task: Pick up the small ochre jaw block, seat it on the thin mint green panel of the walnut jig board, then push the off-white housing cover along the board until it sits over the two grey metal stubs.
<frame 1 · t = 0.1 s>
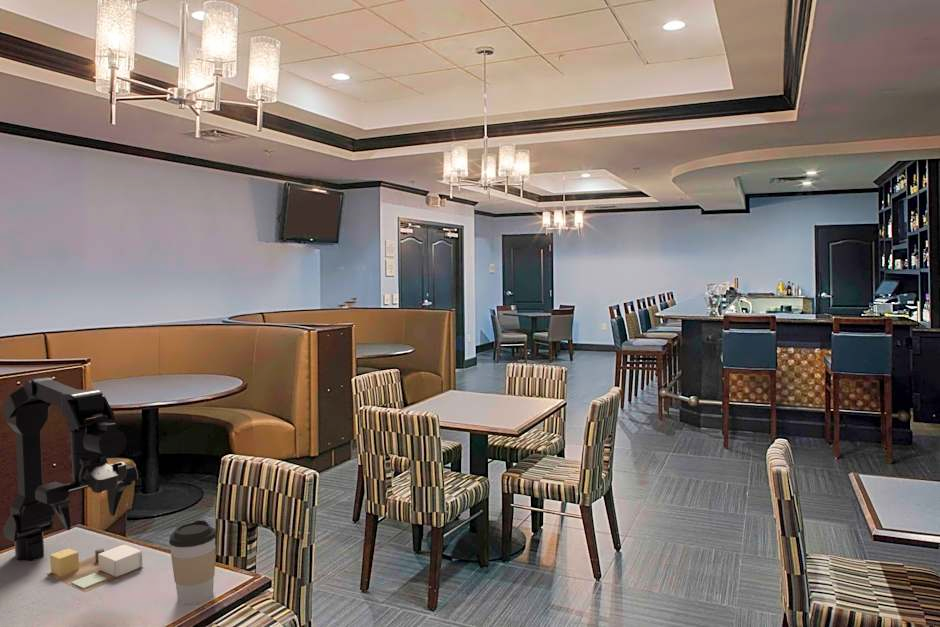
hand: (90, 522, 142), 15 cm above the table, tool pointing down, fingers open, 9 cm apart
jaw block: (65, 570, 149), point 1 cm above the table, touching jig board
jig board: (95, 575, 149), on the table
thin mint green panel: (89, 585, 144), resting on jig board
coffee cup: (195, 597, 139), on the table
housing cover: (120, 560, 150), point 3 cm above the table, slide at 0.0 cm
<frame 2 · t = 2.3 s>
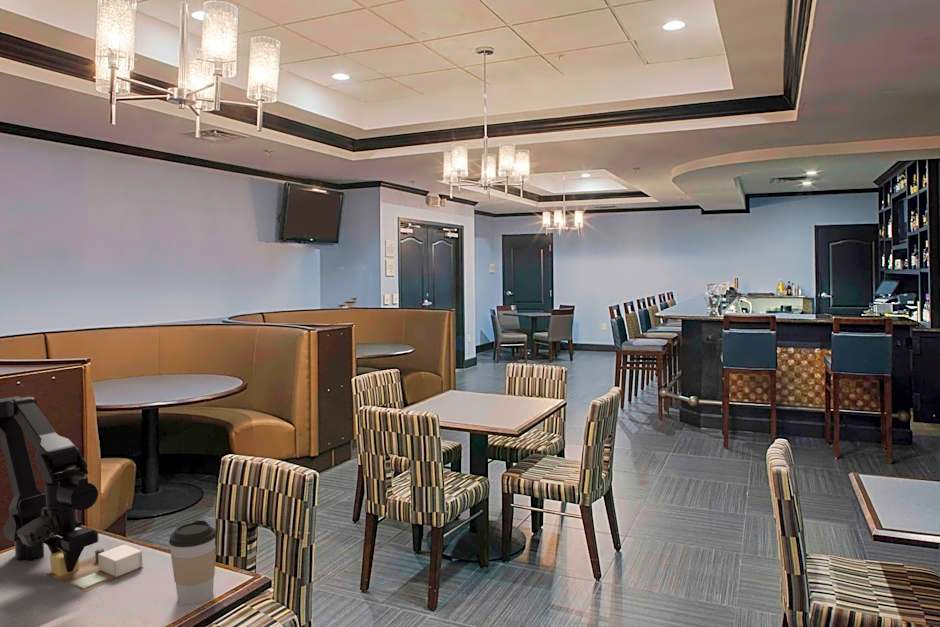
hand: (65, 569, 149), 1 cm above the table, tool pointing down, fingers closed on jaw block, 4 cm apart
jaw block: (65, 570, 149), point 1 cm above the table, touching gripper, jig board
everything else where it was.
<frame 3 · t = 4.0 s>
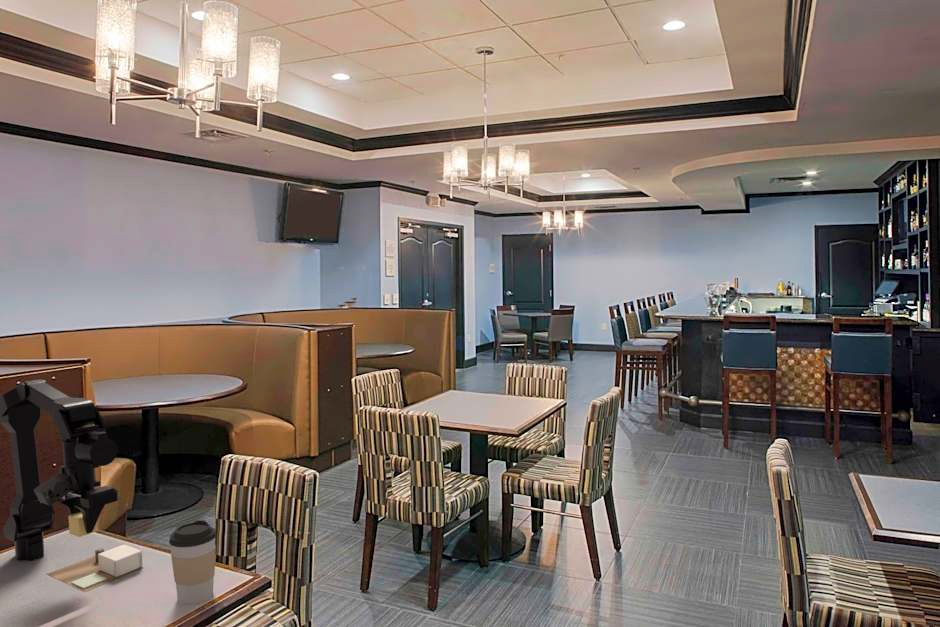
hand: (84, 530, 144), 12 cm above the table, tool pointing down, fingers closed on jaw block, 4 cm apart
jaw block: (84, 532, 144), point 12 cm above the table, touching gripper
everything else where it was.
when the fingers open (3 cm above the table, at t = 5.7 s): jaw block drops 1 cm, resting on thin mint green panel.
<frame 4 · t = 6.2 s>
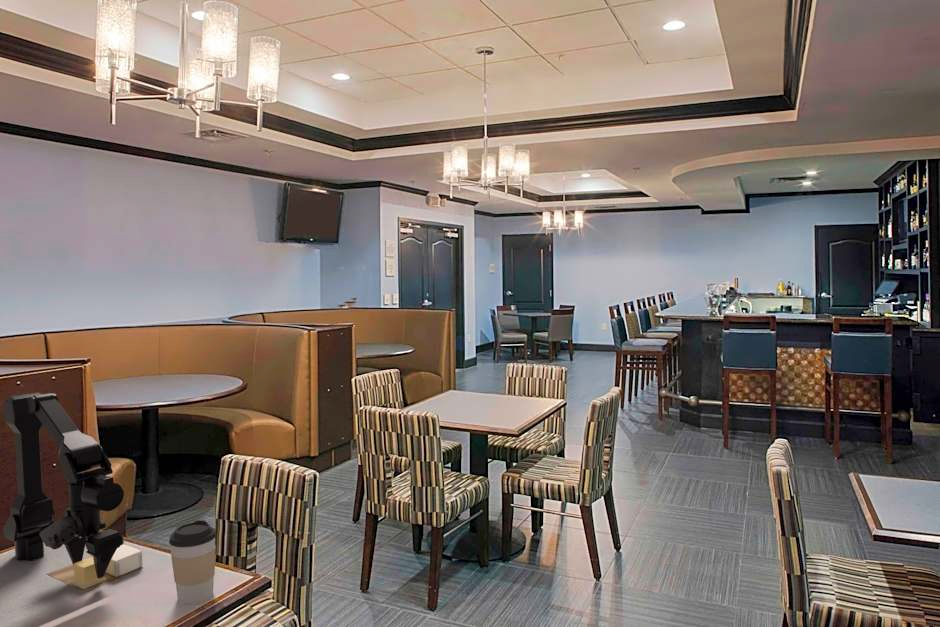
hand: (88, 572, 144), 3 cm above the table, tool pointing down, fingers open, 9 cm apart
jaw block: (89, 580, 144), point 1 cm above the table, touching thin mint green panel
everything else where it was.
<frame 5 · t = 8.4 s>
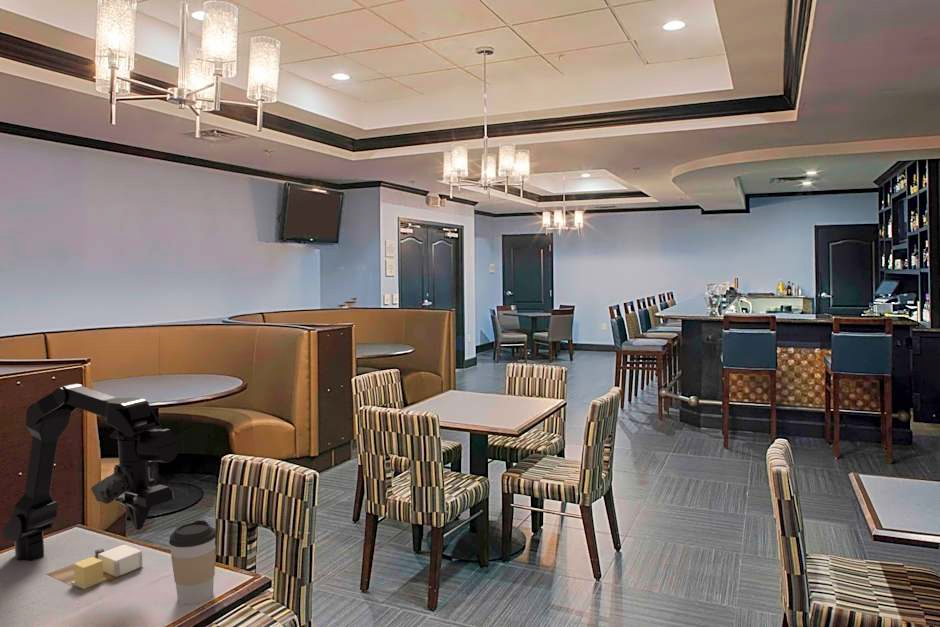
hand: (138, 529, 144), 12 cm above the table, tool pointing down, fingers closed
nothing on the table moved.
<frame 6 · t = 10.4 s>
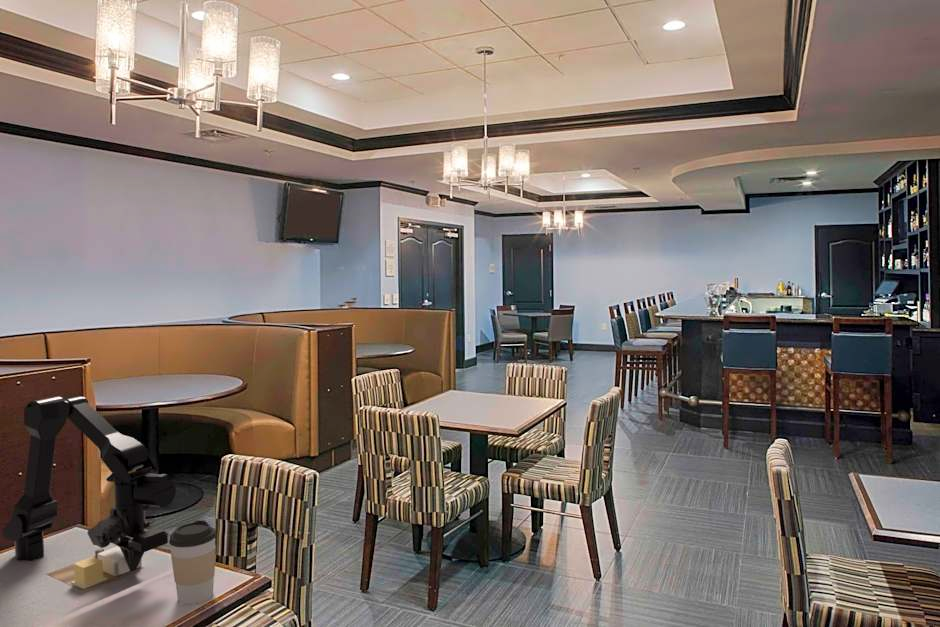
hand: (133, 570, 147), 2 cm above the table, tool pointing down, fingers closed
housing cover: (119, 559, 150), point 3 cm above the table, slide at 0.3 cm, touching gripper
everything else where it was.
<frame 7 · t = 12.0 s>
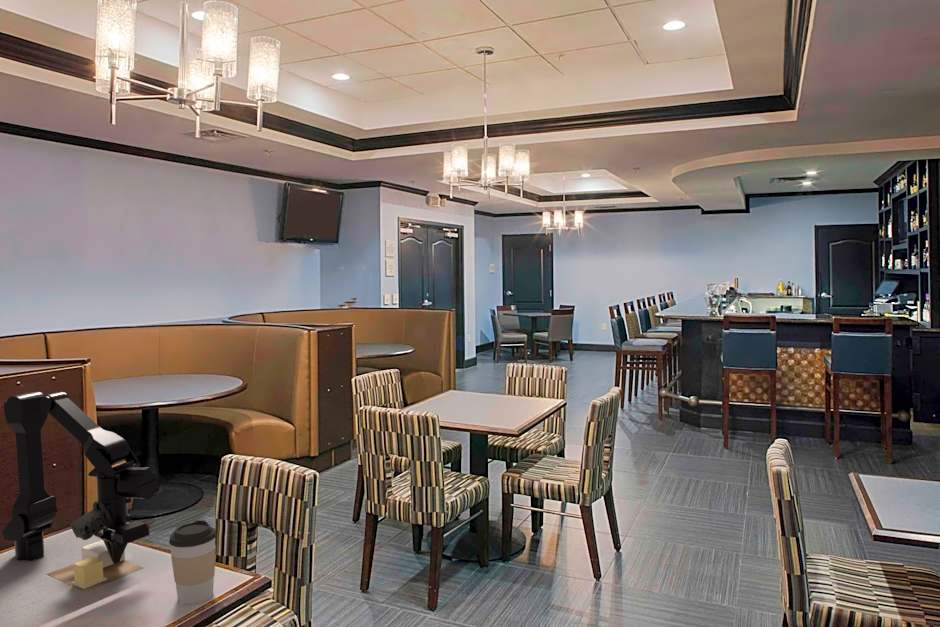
hand: (116, 562, 151), 2 cm above the table, tool pointing down, fingers closed
housing cover: (103, 553, 153), point 3 cm above the table, slide at 7.0 cm, touching gripper
everything else where it was.
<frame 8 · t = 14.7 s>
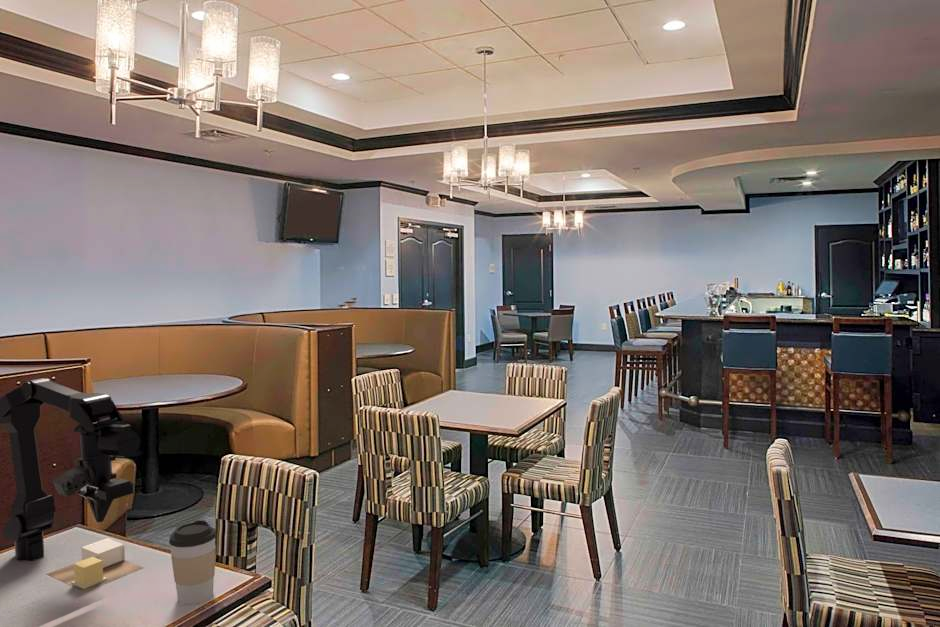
hand: (100, 521, 148), 12 cm above the table, tool pointing down, fingers closed
housing cover: (103, 553, 153), point 3 cm above the table, slide at 7.0 cm
everything else where it was.
at the end: jaw block 0.0 cm off-centre on the thin mint green panel, point 1.3 cm above the thin mint green panel's base; jaw block tilted 0°; housing cover slide at 7.0 cm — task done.
